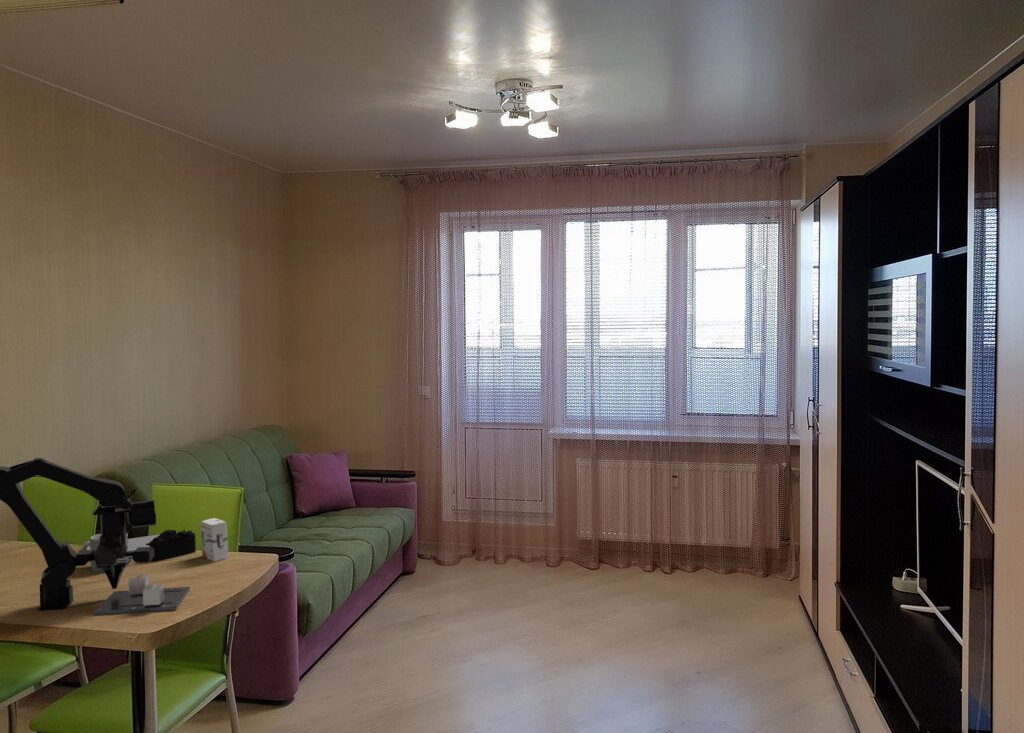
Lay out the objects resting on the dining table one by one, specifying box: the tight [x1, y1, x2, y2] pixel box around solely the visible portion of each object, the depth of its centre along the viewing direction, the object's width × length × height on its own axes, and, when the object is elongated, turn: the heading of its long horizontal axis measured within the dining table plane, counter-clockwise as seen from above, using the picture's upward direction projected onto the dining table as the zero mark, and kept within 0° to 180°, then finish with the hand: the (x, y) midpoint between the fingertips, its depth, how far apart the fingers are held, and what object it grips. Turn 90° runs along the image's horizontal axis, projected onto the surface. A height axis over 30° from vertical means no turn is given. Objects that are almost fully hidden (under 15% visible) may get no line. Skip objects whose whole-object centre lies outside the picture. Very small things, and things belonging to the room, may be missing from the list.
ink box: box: [200, 517, 229, 562], centre depth 247 cm, size 9×5×12 cm, turn 45°
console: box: [94, 586, 191, 616], centre depth 207 cm, size 19×16×1 cm
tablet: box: [87, 534, 160, 552], centre depth 258 cm, size 16×26×2 cm, turn 128°
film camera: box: [146, 529, 197, 562], centre depth 250 cm, size 15×10×9 cm, turn 140°
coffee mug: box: [80, 532, 130, 573], centre depth 238 cm, size 13×10×10 cm
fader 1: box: [128, 573, 150, 595], centre depth 211 cm, size 4×4×4 cm
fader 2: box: [143, 583, 165, 606], centre depth 203 cm, size 4×4×4 cm
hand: (114, 588), depth 210 cm, fingers closed
